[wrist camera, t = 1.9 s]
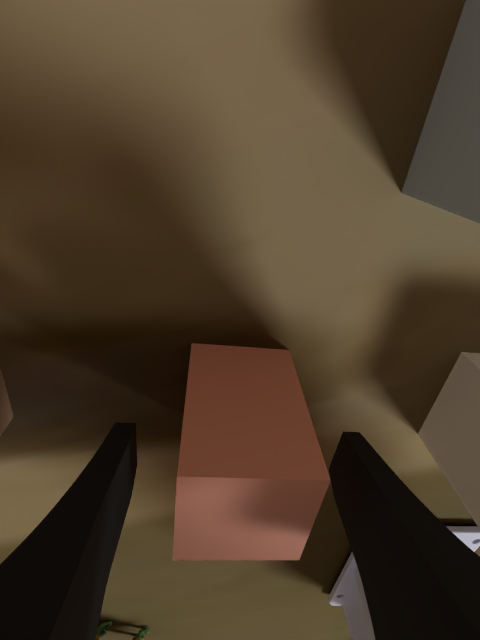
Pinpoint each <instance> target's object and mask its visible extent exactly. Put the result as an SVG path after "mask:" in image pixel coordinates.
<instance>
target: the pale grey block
mask: <svg viewBox="0 0 480 640" xmlns="http://www.w3.org/2000/svg"><path fill="white" fill-rule="evenodd" d="M418 435H419V436H420V438H421V439H422V441H423V442H424V444H425V446H426V447H427V449H428V450H429V452H430V453H431V455H432V456H433V458H434V459H435V461H436V463H437V464H438V466H439V467H440V469H441V470H442V472H443V473H444V475H445V477H446V478H447V480H448V481H449V483H450V484H451V486H452V487H453V489H454V490H455V492H456V494H457V495H458V497H459V498H460V500H461V501H462V503H463V504H464V506H465V507H466V509H467V511H468V512H469V514H470V515H471V517H472V518H473V520H474V521H475V523H476V525H477V526H478V528H479V529H480V353H468V352H461V354H460V356H459V357H458V359H457V361H456V363H455V365H454V367H453V369H452V371H451V372H450V374H449V376H448V378H447V380H446V382H445V384H444V386H443V388H442V389H441V391H440V393H439V395H438V397H437V399H436V401H435V403H434V404H433V406H432V408H431V410H430V412H429V414H428V416H427V418H426V420H425V421H424V423H423V425H422V427H421V429H420V431H419V433H418Z"/></svg>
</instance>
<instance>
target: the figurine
mask: <svg viewBox="0 0 480 640" xmlns="http://www.w3.org/2000/svg"><path fill="white" fill-rule="evenodd" d="M112 623H113V622H112V621H111V620H110V621H106V622H103V623H102V624H101V625H99V626H98V629H97V634H96V639H95V640H99V637H100V638H101V637H103V636H105V633H106V632H105V631H102V630H104V629H106V630H108V629H109V628H110V627H111V626H112ZM142 633H146V634H148V633H149V628H145V629H141V630H140V631H139V633H138V635H137V636H136V637H134V638H133V639H132V640H143V639H144V636H141V635H142Z"/></svg>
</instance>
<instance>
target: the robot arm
mask: <svg viewBox="0 0 480 640" xmlns="http://www.w3.org/2000/svg"><path fill="white" fill-rule="evenodd" d="M136 468H137V445H136V423H116V424H114V425H113V427H112V429H111V430H110V432H109V434H108V435H107V437H106V438H105V440H104V441H103V443H102V445H101V446H100V448H99V449H98V450H97V452H96V453H95V455H94V456H93V458H92V459H91V461H90V462H89V463H88V465H87V466H86V467H85V469H84V470H83V471H82V473H81V474H80V475H79V477H78V478H77V479H76V481H75V482H74V483H73V485H72V486H71V487H70V488H69V489H68V491H67V492H66V493H65V494H64V496H63V497H62V498H61V499H60V500H59V502H58V503H57V504H56V505H55V507H54V508H53V509H52V510H51V511H50V512H49V514H48V515H47V516H46V517H45V518H44V519H43V520H42V522H41V523H40V524H39V525H38V526H37V527H36V528H35V529H34V530H33V531H32V532H31V534H30V535H29V536H28V537H27V538H26V539H25V540H24V541H23V542H22V543H21V544H20V545H19V546H18V547H17V548H16V549H15V550H14V551H13V552H12V553H11V554H10V555H9V556H8V557H7V558H6V559H5V560H4V561H3V562H2V563H1V564H0V640H95V639H96V634H97V629H98V624H99V619H100V614H101V609H102V604H103V599H104V594H105V589H106V585H107V581H108V577H109V573H110V569H111V565H112V562H113V559H114V555H115V552H116V548H117V545H118V541H119V538H120V534H121V531H122V527H123V524H124V520H125V517H126V513H127V510H128V506H129V503H130V499H131V495H132V490H133V485H134V479H135V474H136ZM329 473H330V478H331V484H332V488H333V493H334V497H335V501H336V504H337V507H338V510H339V513H340V517H341V520H342V523H343V526H344V529H345V532H346V535H347V538H348V541H349V544H350V547H351V549H352V553H351V555H350V557H349V559H348V560H347V562H346V564H345V566H344V568H343V570H342V572H341V574H340V576H339V578H338V580H337V581H336V583H335V585H334V587H333V589H332V591H331V593H330V595H329V597H328V599H329V603H330V604H331V605H333V606H341V605H343V609H344V613H345V617H346V620H347V624H348V628H349V632H350V636H351V640H480V557H479V556H478V555H477V554H476V553H475V551H476V549H477V548H478V547H479V546H480V529H479V528H478V526H445V525H444V524H443V523H442V522H441V521H440V520H439V519H438V518H437V517H435V515H434V514H433V513H432V512H431V511H430V510H429V509H428V508H427V507H426V506H425V505H424V504H423V503H422V502H421V501H420V500H419V499H418V498H417V497H416V496H415V495H414V494H413V493H412V492H411V491H410V490H409V489H408V487H407V486H406V485H405V484H404V483H403V482H402V481H401V480H400V479H399V477H398V476H397V475H396V474H395V473H394V472H393V471H392V470H391V468H390V467H389V466H388V465H387V464H386V463H385V461H384V460H383V459H382V458H381V457H380V456H379V455H378V453H377V452H376V451H375V450H374V449H373V447H372V446H371V445H370V444H369V443H368V442H367V440H366V439H365V438H364V437H363V436H362V435H361V434H360V432H343V433H342V436H341V439H340V441H339V444H338V446H337V449H336V452H335V454H334V457H333V460H332V462H331V465H330V467H329Z"/></svg>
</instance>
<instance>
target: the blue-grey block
mask: <svg viewBox="0 0 480 640" xmlns="http://www.w3.org/2000/svg"><path fill="white" fill-rule="evenodd" d="M401 193H403V194H406V195H409V196H411V197H414V198H416V199H419V200H421V201H424V202H427V203H429V204H432V205H434V206H437V207H439V208H442V209H444V210H447V211H450V212H452V213H455V214H457V215H460V216H462V217H465V218H468V219H470V220H473V221H475V222H478V223H480V0H466V1H465V4H464V7H463V10H462V13H461V16H460V19H459V22H458V25H457V28H456V31H455V34H454V37H453V40H452V43H451V46H450V49H449V52H448V55H447V58H446V61H445V64H444V67H443V70H442V73H441V76H440V79H439V82H438V85H437V88H436V91H435V94H434V97H433V99H432V102H431V105H430V108H429V111H428V114H427V117H426V120H425V123H424V126H423V129H422V132H421V135H420V138H419V141H418V144H417V147H416V150H415V153H414V156H413V159H412V162H411V165H410V168H409V171H408V174H407V177H406V180H405V183H404V186H403V189H402V192H401Z"/></svg>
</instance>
